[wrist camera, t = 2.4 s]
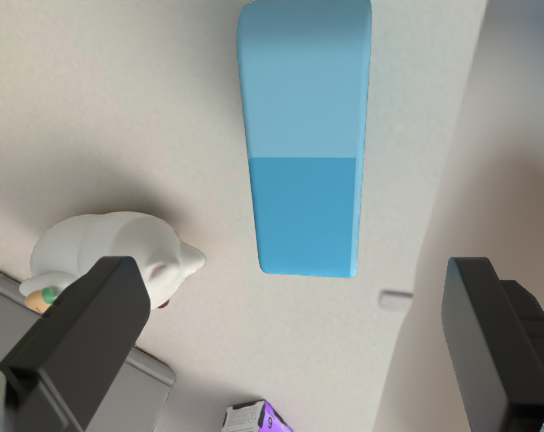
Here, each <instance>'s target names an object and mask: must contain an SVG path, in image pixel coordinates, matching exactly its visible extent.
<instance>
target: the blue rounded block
mask: <svg viewBox="0 0 544 432" xmlns="http://www.w3.org/2000/svg"><path fill="white" fill-rule="evenodd" d="M371 23H372V11H371V2H370V0H258V1H255V2H252V3H249V4H247V5H245V6H244V7H243V9H242V10H241V13H240V16H239V20H238V27H237V58H238V68H239V78H240V87H241V97H242V106H243V116H244V125H245V135H246V144H247V154H248V163H249V173H250V182H251V192H252V201H253V211H254V220H255V229H256V239H257V248H258V258H259V264H260V267H261V269H262V271H263V272H265V273H270V274H288V275H305V276H323V277H341V278H352V277H354V276H355V274H356V269H357V255H358V240H359V224H360V208H361V192H362V176H363V161H364V145H365V129H366V113H367V98H368V82H369V66H370V50H371Z"/></svg>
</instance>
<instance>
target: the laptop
mask: <svg viewBox="0 0 544 432" xmlns="http://www.w3.org/2000/svg"><path fill="white" fill-rule="evenodd" d="M19 286H20V283H18V282H16V281H14V280H13V279H11V278H9V277H7V276H5V275H4V274H2V273H0V362H1V361H2V359H3V358H4V357H5V356H6V355H7V354H8V353H9V352H10V350H11V349H12V348H13V347H14V346H15V345H16V344H17V342H18V341H19V340H20V339H21V338H22V337H23V336H24V335H25V333H26V332H27V331H28V330H29V329H30V328H31V327H32V325H33V324H34V323H35V322H36V321H37V320H38V319H39V318H42V314H43V313H40V312H37V311H34V310H32V309H30V308H28V307H27V306H26V305H25V303H24V299H25V298H26V296H24V295H23V294H21V292H20V291H19ZM175 380H176V376H175V374H174V373H173V372H172V370H171V369H170V368H169V367H168V366H167V365H165V364H163V363H161V362H160V361H158V360H156V359H154V358H152V357H151V356H149V355H147V354H145V353H143V352H142V351H140V350H138V349H136V348H134V347H132V349H131V351H130V353H129V354H128V356H127V358H126V360H125V362H124V363H123V365H122V367H121V369H120V370H119V372H118V374H117V376H116V377H115V379H114V381H113V383H112V385H111V386H110V388H109V390H108V392H107V393H106V395H105V397H104V399H103V401H102V402H101V404H100V406H99V408H98V409H97V411H96V413H95V415H94V416H93V418H92V420H91V422H90V424H89V425H88V427H87V429H86V431H85V432H153V430H154V427H155V425H156V422H157V420H158V418H159V415H160V413H161V410H162V408H163V406H164V403H165V401H166V399H167V396H168V394H169V391H170V389H171V387H172V386H173V384H174V383H175Z"/></svg>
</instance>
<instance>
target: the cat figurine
mask: <svg viewBox="0 0 544 432" xmlns="http://www.w3.org/2000/svg"><path fill="white" fill-rule="evenodd" d="M103 256H131V257H133V258H134V259H135V261H136V263H137V265H138V268H139V270H140V273H141V276H142V278H143V281H144V284H145V286H146V289H147V292H148V294H149V297H150V301H151V310H153V309H155V308H163V307H165V306H166V305H167V304H168V303H169V300H170V298H171V297H172V296H173V295H174V294H175V292H176V291H177V290H178V288H179V287H180V285H181V284H182V282H183V280H184V279H185V278H186V277H187V276H188V275H190V274H192V273H193V272H195V271H197V270H198V269H200V268H201V267H202V266H203V265H204V264H205V261H206V257H205V255H204V254H203V253H202V252H201V251H199V250H198V249H196V248H194V247H192V246H190V245H188V244H186V243H185V242H183V241H182V240H181V239H180V238H179V236H178V234H177V233H176V231H175V230H174V229H173V228H172V227H171V226H170V225H169V224H168V223H167V222H165V221H164V220H162V219H160V218H158V217H155V216H152V215H149V214H145V213H139V212H130V211H121V212H112V213H107V214H104V215H98V214H85V215H78V216H74V217H71V218H68V219H65V220H63V221H61V222H59V223H57V224H56V225H54V226H53V227H51V228H50V229H49V230H47V231H46V232H45V233H44V234H43V235H42V236H41V237H40V239H39V240H38V241H37V243H36V245H35V247H34V249H33V251H32V254H31V259H30V270H31V274H32V277H33V278H29V279H26V280H24V281H23V282H22V283H21V284H20V286H19V291H20V292H21V294H23V295H24V296H26V298H25V299H24V303H25V305H26V306H27V307H28V308H30V309H32V310H34V311H37V312H40V313H44V312H45V311H46V310H47V308H48V307H49V306H50V305H53V302H54V301H55V299H56V298H57V297H58V296H59V295H60V294H61V293H62V291H63V290H64V289H65V288H66V287H67V286H69V285H70V284H72V283H73V282H74V281H76V280H77V279H79V278H80V277H81V276H83V275H84V274H87V272H88V271H89V270H90V269H91V268H92V267H93V265H94V264H95V263H96V262H97V261H98V260H99V259H100V258H101V257H103ZM151 310H150V311H151Z"/></svg>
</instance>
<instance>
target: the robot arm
mask: <svg viewBox="0 0 544 432" xmlns="http://www.w3.org/2000/svg"><path fill="white" fill-rule="evenodd" d="M150 310H151V301H150V297H149V294H148V292H147V289H146V286H145V284H144V281H143V278H142V276H141V273H140V270H139V268H138V265H137V263H136V261H135V259H134V258H133V257H131V256H103V257H101V258H100V259H99V260H98V261H97V262H96V263H95V264H94V265H93V267H92V268H91V269H90V270H89V271H88V272H87V274H84V275H83V276H81V277H80V278H79V279H77V280H76V281H74V282H73V283H72V284H70V285H69V286H67V287H66V288H65V289H64V290H63V291H62V293H61V294H60V295H59V296H58V297H57V298H56V299H55V301H54V302H53V305H50V306H49V307H48V308H47V310H46V311H45V312H44V313H43V314H42V318H39V319H38V320H37V321H36V322H35V323H34V324H33V325H32V327H31V328H30V329H29V330H28V331H27V332H26V333H25V335H24V336H23V337H22V338H21V339H20V340H19V341H18V342H17V344H16V345H15V346H14V347H13V348H12V349H11V350H10V352H9V353H8V354H7V355H6V356H5V357H4V358H3V359H2V361H1V362H0V432H85V431H86V429H87V427H88V425H89V424H90V422H91V420H92V418H93V416H94V415H95V413H96V411H97V409H98V408H99V406H100V404H101V402H102V401H103V399H104V397H105V395H106V393H107V392H108V390H109V388H110V386H111V385H112V383H113V381H114V379H115V377H116V376H117V374H118V372H119V370H120V369H121V367H122V365H123V363H124V362H125V360H126V358H127V356H128V354H129V353H130V351H131V349H132V347H133V346H134V344H135V342H136V340H137V338H138V337H139V335H140V333H141V331H142V330H143V328H144V326H145V324H146V323H147V321H148V318H149V315H150ZM442 325H443V331H444V335H445V338H446V342H447V345H448V349H449V353H450V356H451V360H452V364H453V367H454V371H455V374H456V378H457V382H458V385H459V389H460V392H461V396H462V400H463V403H464V407H465V411H466V414H467V418H468V421H469V425H470V428H471V432H544V311H543V310H542V308H541V306H540V305H539V303H538V301H537V300H536V298H535V297H534V296H533V295H532V294H531V293H529V292H528V291H527V290H526V289H525V288H523V287H522V286H521V285H520V284H519V283H517V282H516V281H515V280H499V278H498V276H497V274H496V272H495V270H494V268H493V266H492V264H491V262H490V261H489V259H488V258H486V257H451V258H450V259H449V261H448V267H447V274H446V280H445V287H444V294H443V301H442Z"/></svg>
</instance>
